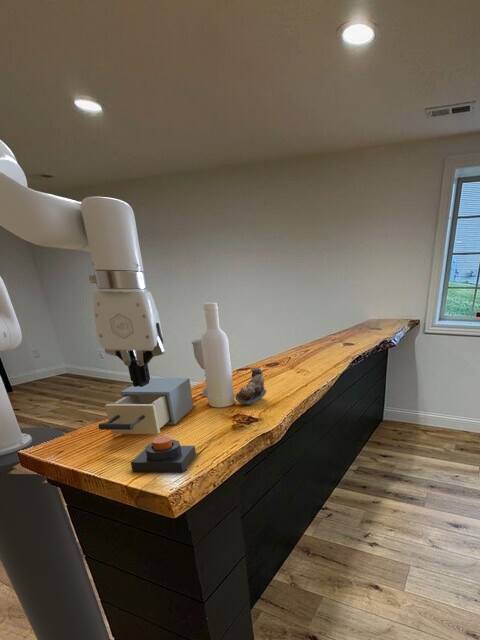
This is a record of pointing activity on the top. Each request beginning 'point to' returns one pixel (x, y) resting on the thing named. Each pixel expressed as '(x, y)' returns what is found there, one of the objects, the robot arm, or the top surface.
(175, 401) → the drawer cabinet
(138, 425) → the cream drawer
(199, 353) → the chalice
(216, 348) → the bottle
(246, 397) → the brown figurine on dish
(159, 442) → the button
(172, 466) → the control block
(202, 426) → the top surface
